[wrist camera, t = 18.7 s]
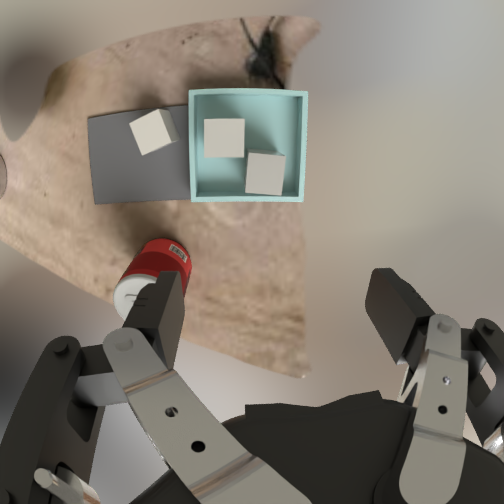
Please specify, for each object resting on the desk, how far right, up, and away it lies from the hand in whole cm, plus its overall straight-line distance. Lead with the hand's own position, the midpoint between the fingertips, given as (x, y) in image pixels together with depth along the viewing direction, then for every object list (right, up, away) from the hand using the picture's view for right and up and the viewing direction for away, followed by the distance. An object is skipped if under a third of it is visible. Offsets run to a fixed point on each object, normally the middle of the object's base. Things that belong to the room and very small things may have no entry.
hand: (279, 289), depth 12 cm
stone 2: (-4, +15, +21) cm, 26 cm away
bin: (-2, +15, +22) cm, 26 cm away
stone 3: (0, +12, +23) cm, 26 cm away
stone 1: (-12, +16, +20) cm, 29 cm away
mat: (-16, +14, +22) cm, 30 cm away
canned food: (-13, 0, +28) cm, 31 cm away
